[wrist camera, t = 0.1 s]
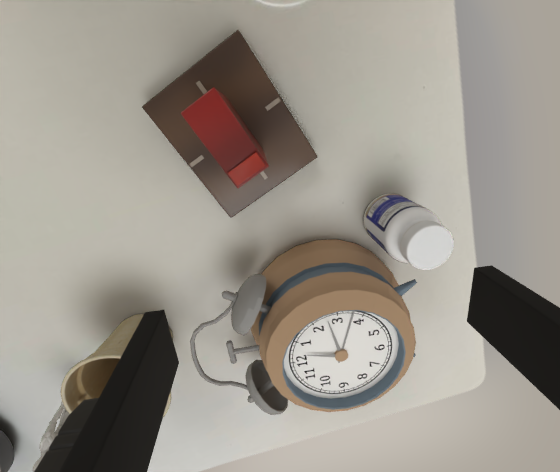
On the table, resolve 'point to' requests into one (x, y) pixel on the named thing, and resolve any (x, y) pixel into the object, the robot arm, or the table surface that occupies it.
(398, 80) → the table surface
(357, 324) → the alarm clock
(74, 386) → the flower pot
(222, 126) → the red rectangular block
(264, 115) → the base plate
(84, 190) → the table surface
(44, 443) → the figurine
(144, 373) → the robot arm
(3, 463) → the planter
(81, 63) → the table surface
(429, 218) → the pill bottle
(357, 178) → the table surface
